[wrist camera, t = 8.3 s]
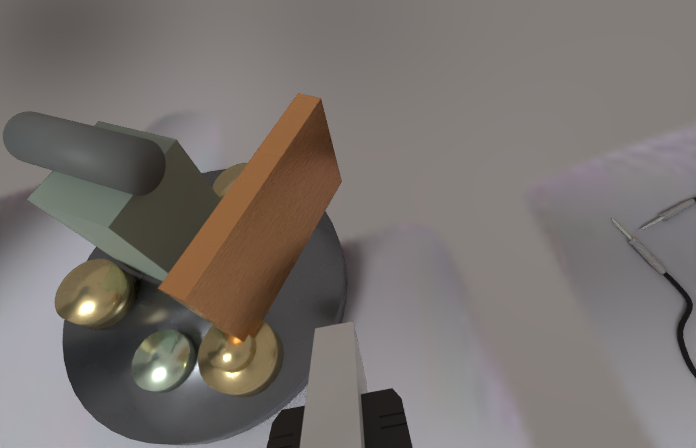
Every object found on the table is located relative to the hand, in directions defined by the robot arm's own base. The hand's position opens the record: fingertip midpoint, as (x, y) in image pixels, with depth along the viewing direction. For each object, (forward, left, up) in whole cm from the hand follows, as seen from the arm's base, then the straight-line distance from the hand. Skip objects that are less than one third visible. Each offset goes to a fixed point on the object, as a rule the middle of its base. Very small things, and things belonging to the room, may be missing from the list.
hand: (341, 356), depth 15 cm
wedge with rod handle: (-16, +5, -8) cm, 19 cm away
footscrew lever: (-7, +4, -8) cm, 11 cm away
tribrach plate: (-13, +3, -10) cm, 17 cm away
